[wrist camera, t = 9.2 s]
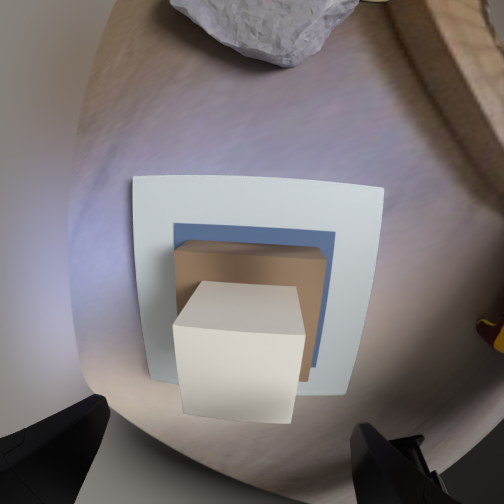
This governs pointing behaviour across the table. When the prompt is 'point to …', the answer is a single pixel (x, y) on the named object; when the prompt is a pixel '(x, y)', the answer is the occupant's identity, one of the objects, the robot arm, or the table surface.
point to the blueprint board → (258, 210)
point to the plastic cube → (240, 352)
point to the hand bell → (375, 0)
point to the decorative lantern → (492, 333)
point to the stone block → (269, 25)
